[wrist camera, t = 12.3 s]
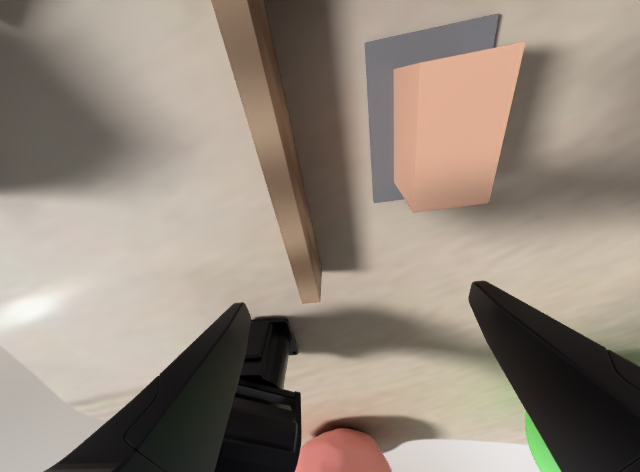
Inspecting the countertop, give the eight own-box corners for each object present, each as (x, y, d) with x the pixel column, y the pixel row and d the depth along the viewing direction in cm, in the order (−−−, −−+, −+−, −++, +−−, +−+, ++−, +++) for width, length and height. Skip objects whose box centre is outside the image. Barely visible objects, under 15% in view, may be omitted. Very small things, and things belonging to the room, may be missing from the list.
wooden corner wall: (560, 245, 20) (605, 277, 17) (306, 271, 23) (302, 303, 20) (767, -221, 9) (1026, -403, 6) (220, -60, 12) (176, -118, 8)
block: (465, 55, 14) (525, 41, 9) (450, 174, 17) (488, 203, 13) (393, 69, 14) (420, 62, 10) (393, 182, 18) (413, 212, 14)
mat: (466, 188, 18) (468, 190, 18) (373, 201, 19) (374, 203, 19) (495, 14, 13) (499, 13, 13) (364, 43, 14) (365, 42, 13)
